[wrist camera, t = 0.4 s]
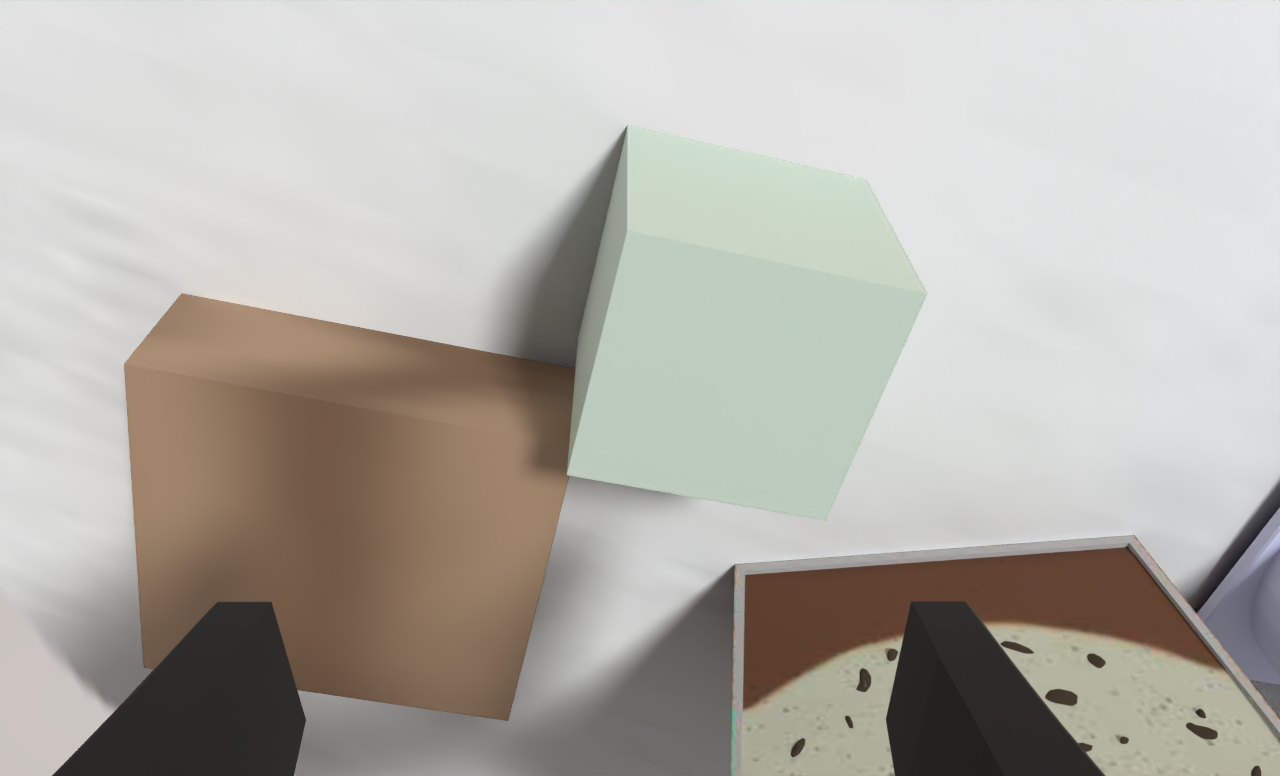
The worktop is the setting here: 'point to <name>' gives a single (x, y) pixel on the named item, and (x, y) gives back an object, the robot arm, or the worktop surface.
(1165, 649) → the food container
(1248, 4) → the worktop surface
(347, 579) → the walnut block
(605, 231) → the sage cube
